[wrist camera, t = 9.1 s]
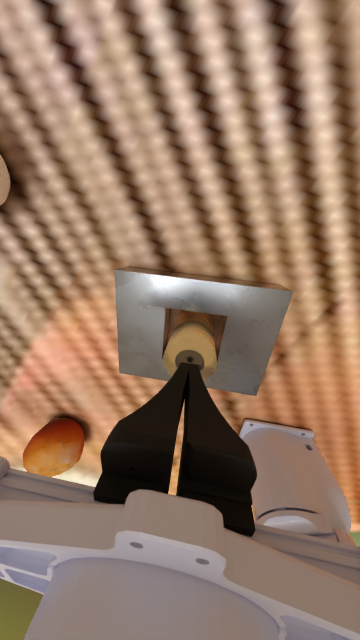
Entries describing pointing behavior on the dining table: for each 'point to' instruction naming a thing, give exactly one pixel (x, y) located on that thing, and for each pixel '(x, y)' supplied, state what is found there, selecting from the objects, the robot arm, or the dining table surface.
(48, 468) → the fruit
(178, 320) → the bushing
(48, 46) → the dining table surface
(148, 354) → the jig
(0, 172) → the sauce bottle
